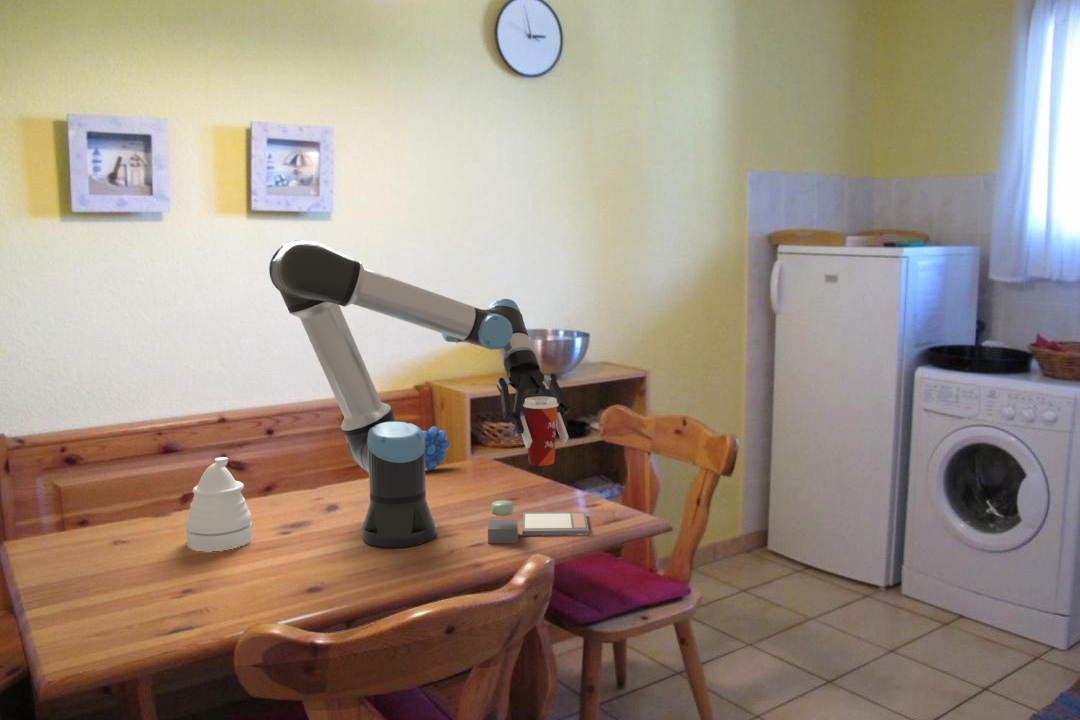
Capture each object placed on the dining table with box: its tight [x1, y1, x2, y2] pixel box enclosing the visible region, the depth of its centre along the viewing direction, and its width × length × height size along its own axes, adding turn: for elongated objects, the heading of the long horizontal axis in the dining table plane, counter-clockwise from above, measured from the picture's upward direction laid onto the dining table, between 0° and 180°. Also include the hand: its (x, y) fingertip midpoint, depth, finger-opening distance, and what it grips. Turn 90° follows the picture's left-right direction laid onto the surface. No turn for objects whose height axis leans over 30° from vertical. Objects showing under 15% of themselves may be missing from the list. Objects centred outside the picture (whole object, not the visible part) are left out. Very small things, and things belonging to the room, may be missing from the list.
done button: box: [491, 500, 514, 517], centre depth 188 cm, size 4×4×2 cm
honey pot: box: [185, 456, 253, 553], centre depth 187 cm, size 13×13×18 cm
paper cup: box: [522, 396, 559, 467], centre depth 195 cm, size 8×8×14 cm
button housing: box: [487, 519, 519, 544], centre depth 188 cm, size 6×6×3 cm
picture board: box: [521, 511, 590, 537], centre depth 196 cm, size 14×13×1 cm
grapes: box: [422, 425, 450, 471], centre depth 244 cm, size 12×7×12 cm, turn 122°
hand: (547, 442), depth 192 cm, fingers closed on paper cup, 8 cm apart
